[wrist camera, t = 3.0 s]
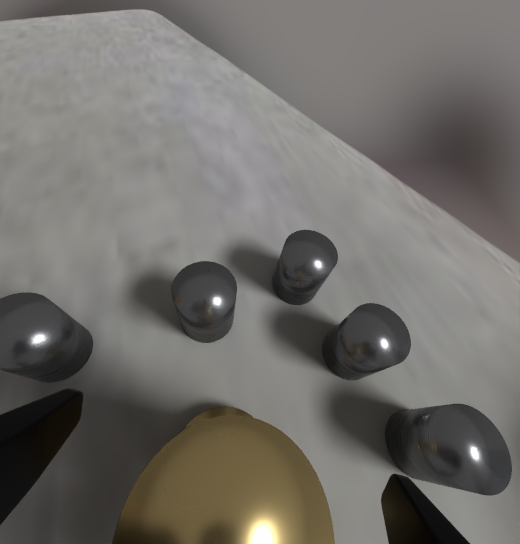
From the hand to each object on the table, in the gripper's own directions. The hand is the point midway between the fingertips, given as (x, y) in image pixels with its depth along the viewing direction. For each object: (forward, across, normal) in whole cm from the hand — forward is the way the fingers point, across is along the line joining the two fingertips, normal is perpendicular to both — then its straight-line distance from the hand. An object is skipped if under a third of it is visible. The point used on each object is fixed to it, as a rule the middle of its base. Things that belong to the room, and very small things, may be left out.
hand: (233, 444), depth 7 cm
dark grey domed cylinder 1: (+9, -6, +1) cm, 11 cm away
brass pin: (+4, 0, +6) cm, 7 cm away
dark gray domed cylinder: (+9, +3, +1) cm, 10 cm away
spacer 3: (+12, -2, -2) cm, 12 cm away
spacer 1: (+6, +10, +4) cm, 13 cm away
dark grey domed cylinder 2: (+6, -10, +4) cm, 12 cm away
